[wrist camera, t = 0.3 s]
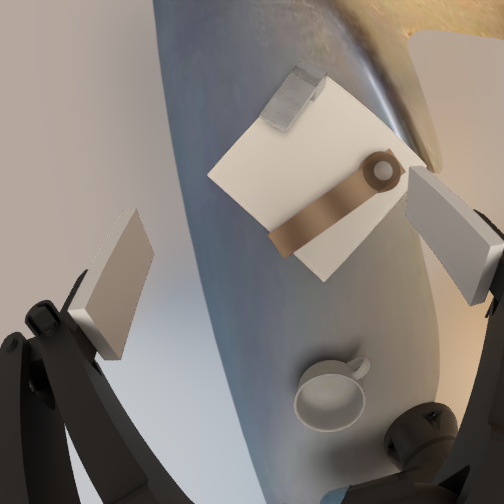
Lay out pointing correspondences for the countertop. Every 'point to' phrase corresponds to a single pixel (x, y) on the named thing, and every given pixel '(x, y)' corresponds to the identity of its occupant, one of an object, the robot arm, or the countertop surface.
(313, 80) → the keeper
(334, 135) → the base board
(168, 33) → the countertop surface
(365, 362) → the teacup
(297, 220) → the latch
